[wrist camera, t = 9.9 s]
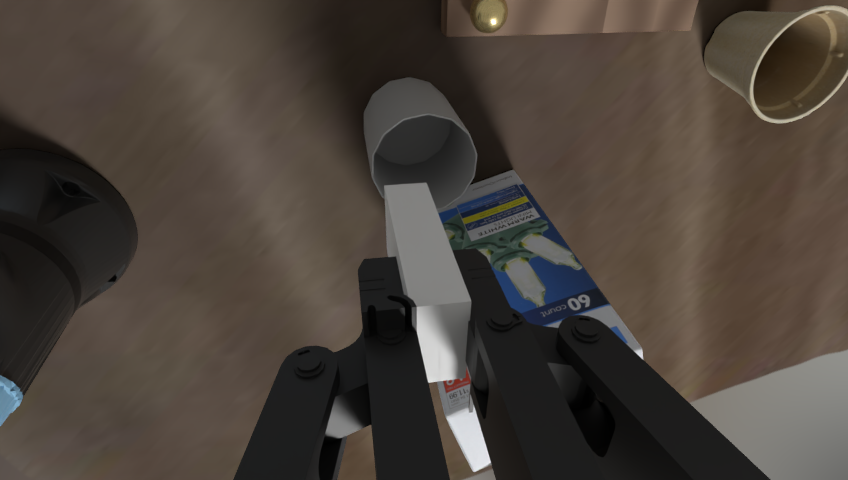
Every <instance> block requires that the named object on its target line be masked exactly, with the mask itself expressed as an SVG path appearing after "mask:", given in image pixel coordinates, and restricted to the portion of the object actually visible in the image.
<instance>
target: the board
mask: <svg viewBox="0 0 848 480" xmlns="http://www.w3.org/2000/svg"><path fill="white" fill-rule="evenodd" d="M473 1H474V0H442V2H441V32H442V33H443V34H444V35H445V36H446V37H469V36H506V35H543V34H580V33H617V32H654V31H690V29H691V26H692V22H693V18H694V15H695V11H696V8H697V4H698V1H699V0H505V1H506V3H507V6H508V17H507V20H506V22H505V24H504V25H503V26H502V28H500V29H499V30H498V31H496V32H494V33H482V32H480V31H478V30H477V29H476V28H475V27H474V26H473V25H472V23H471V20H470V7H471V4H472V2H473Z"/></svg>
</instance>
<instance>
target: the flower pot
mask: <svg viewBox="0 0 848 480" xmlns="http://www.w3.org/2000/svg"><path fill="white" fill-rule="evenodd" d="M704 62H705V66H706V69H707V70H708V72H709V73H710V74H711V75H712V76H713V77H715V78H717V79H718V80H720V81H721V82H723V83H724V84H726V85H727V86H729V87H730V88H732V89H733V90H734V91H736V92H737V93H739V94H740V95H741V96H743V97H744V98H745V99H746V101H747V102H748V103H749V104H750V106H751V108H752V109H753V111H754V112H755V113H756V114H757V115H758V116H759V117H760V118H761V119H763V120H765V121H768V122H772V123H787V122H791V121H794V120H797V119H800V118H802V117H804V116H806V115H808V114H810V113H811V112H813V111H814V110H816V109H817V108H819V107H820V106H821V105H822V104H824V103H825V102H826V101H827V100H828V99H829V98H830V97H831V96H832V95H833V94H834V93H835V92H836V91H837V90H838V89H839V87H840V86H841V85H842V83H843V82H844V81H845V79H846V78H847V76H848V10H847V9H845V8H843V7H840V6H833V5H827V6H819V7H815V8H812V9H809V10H804V11H800V12H760V11H742V12H739V13H736V14H733V15H731V16H730V17H728V18H727V19H725V20H724V21H723V22H722V23H721V24H719V26H718V27H717V28H716V29H715V31H714V34H713V36H712V38H711V39H710V41H709V42H708V44H707V45H706V48H705V53H704Z"/></svg>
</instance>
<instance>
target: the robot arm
mask: <svg viewBox="0 0 848 480" xmlns="http://www.w3.org/2000/svg"><path fill="white" fill-rule="evenodd" d="M384 191H385V215H386V238H387V253H388V257H384V258H372V259H364V260H363V262H362V263H361V265H360V267H359V269H358V277H359V289H360V301H361V313H362V324H363V329H362V333H361V335H360V337H359V338H358V339H357V340H356V341H355V342H354V343H353V344H351V345H350V346H348V347H346V348H344V349H342V350H340V351H337V352H332V351H331V350H329V349H327V348H325V347H320V346H307V347H303V348H301V349H298V350H295V351H294V352H293V353H291V354H290V355H288V356H287V357H286V359H285V360H284V362H283V363H282V364H281V367H280V369H279V372H278V374H277V376H276V379H275V381H274V384H273V386H272V388H271V391H270V393H269V396H268V398H267V400H266V403H265V405H264V408H263V410H262V412H261V415H260V417H259V419H258V422H257V424H256V427H255V429H254V431H253V434H252V436H251V439H250V441H249V443H248V446H247V448H246V451H245V453H244V455H243V458H242V460H241V463H240V465H239V467H238V470H237V472H236V475H235V477H234V479H233V480H337V478H338V474H339V469H340V465H341V461H342V456H343V452H344V448H345V444H346V439H347V435H349V434H351V433H353V432H355V431H358V430H360V429H362V428H364V427H366V426H368V425H372V436H373V447H374V458H375V469H376V480H450V478H449V473H448V469H447V465H446V460H445V456H444V451H443V447H442V442H441V438H440V433H439V429H438V424H437V420H436V415H435V411H434V406H433V402H432V397H431V393H430V388H429V384H428V383H430V382H438V381H445V380H453V379H461V378H466V367H468V370H469V374H470V377H471V382H470V394H469V413H471V412H473V405H474V408H475V411H476V414H477V418H478V421H479V424H480V428H481V431H482V434H483V438H484V441H485V444H486V448H487V451H488V454H489V458H490V461H491V464H492V468H493V471H494V474H495V477H496V480H770V479H769V478H768V477H767V476H766V475H765V474H764V473H763V472H762V471H761V470H760V469H758V467H756V466H755V465H754V464H753V463H752V462H751V461H750V460H749V459H748V458H747V457H746V456H745V455H744V454H743V453H742V452H741V451H739V450H738V449H737V448H736V447H735V446H734V445H733V444H732V443H731V442H730V441H729V440H728V439H727V438H726V437H725V436H724V435H722V434H721V433H720V432H719V431H718V430H717V429H716V428H715V427H714V426H713V425H712V424H711V423H710V422H709V421H708V420H706V419H705V418H704V417H703V416H702V415H701V414H700V413H699V412H698V411H697V410H696V409H695V408H694V407H693V406H691V404H690V403H688V402H687V401H686V400H685V399H684V398H683V397H682V396H681V395H680V394H679V393H678V392H677V391H676V390H675V389H674V388H673V387H671V386H670V385H669V384H668V383H667V382H666V381H665V380H664V379H663V378H662V377H661V376H660V375H659V374H658V373H657V372H656V371H654V370H653V369H652V368H651V367H650V366H649V365H648V364H647V363H646V362H645V361H644V360H643V359H642V358H641V357H640V356H639V355H637V354H636V353H635V352H634V351H633V350H632V349H631V348H630V347H629V346H628V345H627V344H626V343H625V342H624V341H623V340H622V339H620V338H619V337H618V336H617V335H616V334H615V333H614V332H613V331H612V330H611V329H610V328H609V327H608V326H607V325H605V324H604V323H602V322H601V321H600V320H598V319H595V318H592V317H590V316H584V315H573V316H569V317H567V318H565V319H563V320H562V321H561V323H560V325H559V327H558V328H556V327H548V326H540V325H536V324H532V323H529V322H527V321H526V319H525V318H524V316H523V315H522V314H521V313H520V312H518V311H517V310H515V309H513V308H511V307H510V305H509V303H508V301H507V299H506V297H505V294H504V292H503V290H502V288H501V286H500V284H499V282H498V280H497V278H496V275H495V273H494V271H493V269H492V267H491V265H490V263H489V261H488V259H487V257H486V256H485V255H484V254H483V253H481V252H480V251H479V250H478V249H476V248H472V249H461V250H452V249H451V246H450V243H449V241H448V238H447V235H446V233H445V230H444V228H443V225H442V222H441V220H440V217H439V214H438V212H437V209H436V206H435V204H434V201H433V199H432V196H431V193H430V191H429V188H428V185H427V183H413V184H399V185H384ZM137 241H138V234H137V227H136V223H135V220H134V217H133V215H132V212H131V210H130V209H129V207H128V205H127V204H126V202H125V201H124V199H123V198H122V197H121V195H120V194H119V193H118V192H117V191H116V190H115V189H114V188H113V187H112V186H111V185H110V184H109V183H108V182H107V181H105V180H104V179H103V178H102V177H100V176H99V175H98V174H96V173H95V172H93V171H91V170H90V169H88V168H86V167H85V166H83V165H81V164H79V163H77V162H74V161H72V160H70V159H67V158H65V157H62V156H59V155H55V154H52V153H48V152H43V151H38V150H30V149H5V150H0V426H1V425H2V424H3V422H4V421H5V419H6V418H7V417H8V415H9V414H10V413H12V412H13V411H14V410H15V409H16V408H17V407H18V406H19V405H20V403H21V401H22V399H23V396H24V395H25V393H26V391H27V390H28V388H29V386H30V385H31V383H32V382H33V380H34V378H35V377H36V375H37V373H38V372H39V370H40V368H41V367H42V365H43V363H44V362H45V360H46V359H47V357H48V355H49V354H50V352H51V350H52V349H53V347H54V345H55V344H56V342H57V340H58V339H59V337H60V335H61V334H62V332H63V331H64V329H65V327H66V326H67V324H68V322H69V321H70V319H71V317H72V316H73V314H74V313H75V311H76V310H77V309H79V308H80V307H82V306H83V305H85V304H86V303H88V302H89V301H91V300H92V299H94V298H95V297H97V296H98V295H99V294H101V293H102V292H104V291H106V290H107V289H108V288H110V287H111V286H112V285H114V284H115V283H116V282H117V281H118V280H119V279H120V277H121V276H122V275H123V274H124V272H125V271H126V269H127V267H128V265H129V264H130V262H131V260H132V258H133V256H134V254H135V251H136V248H137Z"/></svg>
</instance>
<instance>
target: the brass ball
mask: <svg viewBox="0 0 848 480" xmlns="http://www.w3.org/2000/svg"><path fill="white" fill-rule="evenodd" d="M507 17H508V6H507V3H506V1H505V0H474V1H473V2H472V4H471V7H470V20H471V23H472V25H473V26H474V27H475V28H476V29H477V30H478V31H480V32H482V33H494V32H496V31H498V30H499V29H500V28H502V26H503V25H504V24H505V22H506V20H507Z"/></svg>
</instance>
